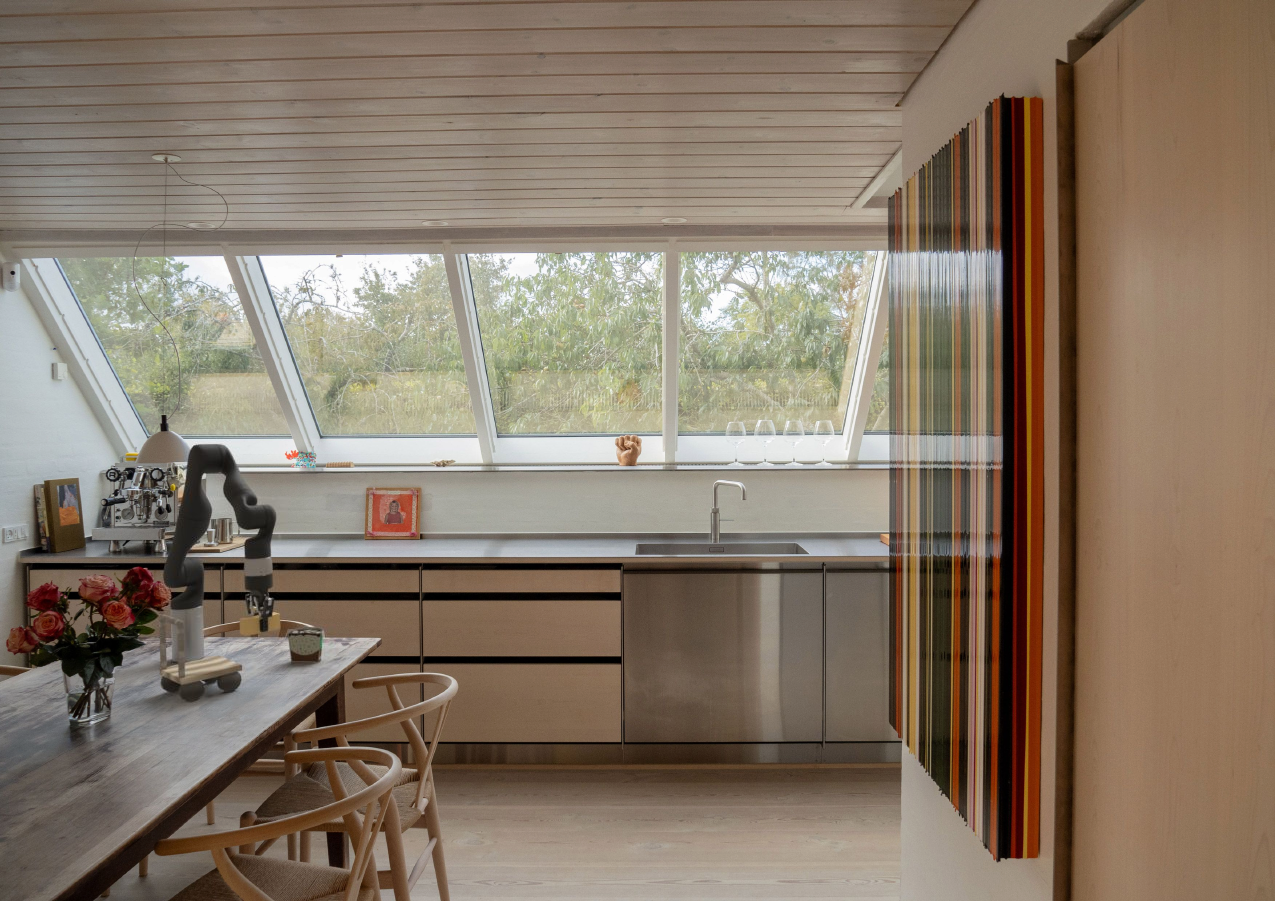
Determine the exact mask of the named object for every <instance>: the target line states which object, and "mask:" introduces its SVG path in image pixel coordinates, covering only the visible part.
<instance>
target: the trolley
mask: <svg viewBox="0 0 1275 901" xmlns="http://www.w3.org/2000/svg"><path fill="white" fill-rule="evenodd" d="M166 623H167V624H170V625H171V624H173V625H176V626H177V643H178V662H177V664H174V665H170V666H168V662H167V661H168V660H167V658H168V657H167V634H166V632H167V631H166ZM183 624H184V623H183V621H181V620H178V619H175V618H172V617H171V616H170V615H166V614H164V613H161V614H160V615H159V616H158V627H159V628H158V629H159V630H158V631H159V632H158V634H159V656H160V657H159V658H160V659H159V663H160V668H158V669H159V675H160V676H162V677H161V679H160V686H161V688H162V690H164V691H166V692H168V693H176V692H178V695H179V697H180V699H181V700H183V701H185V702H188V703H193V702H196V701H197V700H199V699H201V698H202V696H203V694H204V693H205V690H206V687H205V683H206V684H213V683H215V682H216V684H217V688H218V689H219V690H220V691H222V692H226V693H232V692H235V691H236V690H237V689H238V688H239V687H240V685H241V684H242V675H241V673H240V672H241V671H243V664H241V663H240V662H236V661H233V660H231V659H228V658H225V657H224V656H221V655H215V656H210V657H209V656H208V657H206V658H201V659H198V660H195V661H189V662H185V658H184V626H183ZM212 682H213V683H212Z"/></svg>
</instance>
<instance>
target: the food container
mask: <svg viewBox="0 0 1275 901" xmlns="http://www.w3.org/2000/svg"><path fill="white" fill-rule="evenodd" d="M325 637H326V635H325V631H324V630H323V627H318V626H307V627H298V628H293V629H290V630H288V631H287V632H286V637H285V638H287V639H288V646H289V647H288V648H289V655H290V661H291V663H320V662H321V661H322V650H323V639H324V638H325Z"/></svg>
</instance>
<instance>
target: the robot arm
mask: <svg viewBox="0 0 1275 901" xmlns="http://www.w3.org/2000/svg"><path fill="white" fill-rule="evenodd" d="M220 473H221V474H222V475H224V476H225V480H224V482H223V487H222V492H223V495H224V498H225V499H226V500H227V502H228V503H229V504H230V505H231V507H232V508H233V512H234V515H235V519H236V523H237V526H238V527H239V528H241V529H242V530H246V531H252V530H253V531H254V530H258V531H257V534H256V535H254V536H252V537H249V538H246V540H244V545H243V546H244V547H243V549H244V551H243V552H244V564H243V576H244V590H245V591H249V593H248V594H245V595H244V598H245V604H246V610H247V614H248V615H250V617H251V616H256V615H259V618H260V620H259V621H260V632H263V633H267V632H269V631H268V618H269V617H272V614H273V612H274V606H275V605H274V604H275V598H273V597H270V594H269V590H270V589H271V588H273V587H274V575H273V572H274V570H273V561H272V560H273V559H272V547H271V546H272V545H271V543H272V539H273V534H274V530H275V526H276V523H277V513H276V512H277V511H276V509H275V508H274V506H272V505H271V504H258V497H257V495H256V494H255V492H254V491H253V490H252V489H251V487H250V486H249V485H248V484H247V482H246V480H245V479H244V477H243V476H242V474H241V471H240V469H239V466H238V464H237V461H236V460H235V458H234V456H233V454H232V452H231V451H230V449H229V448H228V447H227V446H226V445H225V444H222V443H201V444H200V443H199V444H194V445H193V446H191V448H190V450H189V453H188V457H187V464H186V472H185V481H184V482H185V483H184V487H183V492H182V498H181V502H180V506H179V509H178V514H177V519H176V523H175V524H176V525H175V530H174V535H173V538H172V541H171V546H170V548H169V552H168V554H167V557H166V560H165V564H164V568H163V574H162V577H163V578H162V579H163V583H164V585H165V586H166V587H167V588H169V589H178V588H179V589H180V588H184V587H186V588H185V590H184V591H183V592H182V593H180V594H179V595H177V596H175V597H174V598H172V599H171V600H170V603H169V608H170V617H172V618H175V619H178V620H181V621H183V623H184V624H183V626H184V658H185V663H187V662H191V661H196V660H200V659H204V657H205V636H204V635H205V634H204V633H205V632H204V630H205V629H204V608H203V607H204V605H203V604H204V603H203V602H204V595H205V593H204V592H205V589H204V588H205V567H204V564H203V561H202V559H201V558H199V557H196V556H195V557H194V556H193V557H187V555H188V553H189V552H190V550H191V549H192V548H194V547H193V546H194V545H196V544H197V543H198V542H199V541H200V539H202V537H203V536H204V535H205V534H206V533H207V532H208V529H209V526H210V523H211V519H212V516H213V506H212V504H211V502H210V500H209V499H208V497H207V494H206V493H205V492H204V488H203V487H202V485H203V484H202V482H203V481H202V478H203V476H204V474H206V475H207V474H220ZM170 629H171V631H170V635H171V636H170V638H171V661H172V662H174V663H178V643H177V626H176V625H173V624H171V623H170ZM266 631H267V632H266Z"/></svg>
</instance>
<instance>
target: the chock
mask: <svg viewBox="0 0 1275 901" xmlns="http://www.w3.org/2000/svg"><path fill="white" fill-rule="evenodd" d="M259 620H260V618H259V615H256V616H251V615H250V616H246V617H240V618H239V635H241V636H244V637H245V636H246V637H249V636H252V635H258V634H262V633H264V632H260V621H259ZM277 630H281V613H278V612H274V611H273V614H272V617H269V618H268V631H266V632H265V633H267V632H272V631H277Z"/></svg>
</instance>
